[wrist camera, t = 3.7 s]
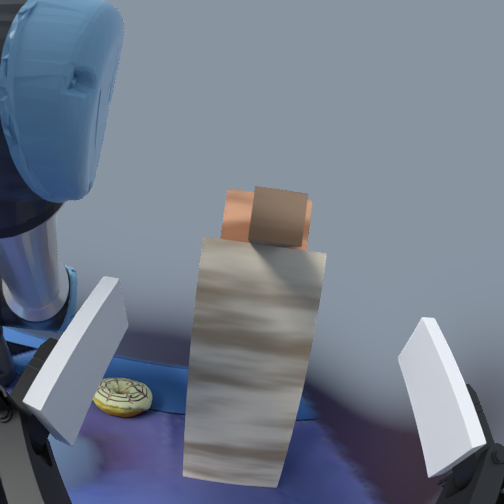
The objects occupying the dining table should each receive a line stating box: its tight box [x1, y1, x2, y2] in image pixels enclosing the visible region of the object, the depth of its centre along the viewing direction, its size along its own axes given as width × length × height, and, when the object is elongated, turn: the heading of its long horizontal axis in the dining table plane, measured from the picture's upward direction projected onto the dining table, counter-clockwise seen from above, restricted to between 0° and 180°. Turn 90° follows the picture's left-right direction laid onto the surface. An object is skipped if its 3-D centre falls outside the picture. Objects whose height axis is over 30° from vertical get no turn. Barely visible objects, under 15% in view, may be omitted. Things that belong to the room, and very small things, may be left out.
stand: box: [183, 237, 327, 488], centre depth 34 cm, size 10×12×30 cm
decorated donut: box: [93, 378, 152, 417], centre depth 43 cm, size 10×11×4 cm
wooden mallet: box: [220, 186, 312, 251], centre depth 28 cm, size 22×10×6 cm, turn 0°
